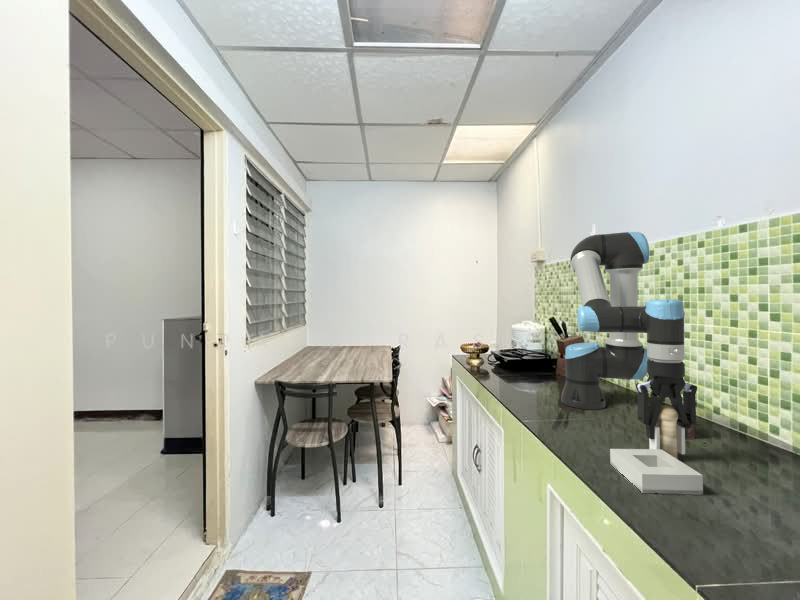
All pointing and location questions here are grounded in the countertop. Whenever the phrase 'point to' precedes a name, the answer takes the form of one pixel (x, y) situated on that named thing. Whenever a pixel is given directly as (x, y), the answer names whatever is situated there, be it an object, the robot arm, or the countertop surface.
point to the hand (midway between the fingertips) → (667, 451)
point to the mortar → (656, 471)
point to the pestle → (668, 429)
